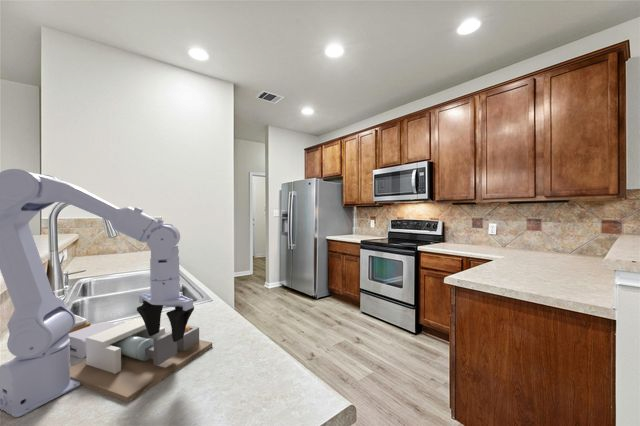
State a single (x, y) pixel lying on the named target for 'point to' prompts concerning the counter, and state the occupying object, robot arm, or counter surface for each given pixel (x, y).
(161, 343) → the grey and blue plunger
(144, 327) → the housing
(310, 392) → the counter surface
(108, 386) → the mounting board
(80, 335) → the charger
